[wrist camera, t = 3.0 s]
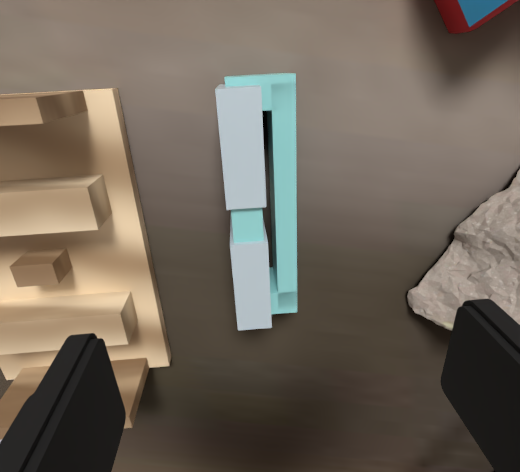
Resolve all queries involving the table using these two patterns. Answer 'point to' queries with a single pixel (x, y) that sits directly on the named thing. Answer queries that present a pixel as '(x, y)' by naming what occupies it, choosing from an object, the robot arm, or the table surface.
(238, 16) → the table surface
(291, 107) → the blocks in teal channel
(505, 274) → the concrete fragment
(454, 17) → the toy truck
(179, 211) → the table surface
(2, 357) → the cradle
